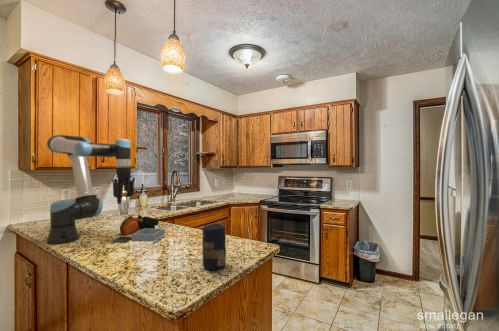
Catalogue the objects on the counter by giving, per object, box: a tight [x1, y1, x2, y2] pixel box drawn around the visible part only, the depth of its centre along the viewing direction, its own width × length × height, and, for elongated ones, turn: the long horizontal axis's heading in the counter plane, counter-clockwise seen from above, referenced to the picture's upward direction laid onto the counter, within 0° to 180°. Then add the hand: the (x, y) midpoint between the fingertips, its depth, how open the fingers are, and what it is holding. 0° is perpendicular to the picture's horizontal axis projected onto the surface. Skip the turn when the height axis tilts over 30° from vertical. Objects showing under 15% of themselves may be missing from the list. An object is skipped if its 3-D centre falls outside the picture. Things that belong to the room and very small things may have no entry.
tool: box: [119, 214, 159, 237], centre depth 157 cm, size 8×23×15 cm, turn 142°
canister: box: [202, 223, 227, 271], centre depth 103 cm, size 10×10×18 cm
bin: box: [130, 228, 166, 245], centre depth 142 cm, size 13×13×5 cm
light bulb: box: [119, 190, 129, 216], centre depth 139 cm, size 5×5×13 cm
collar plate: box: [107, 235, 131, 244], centre depth 138 cm, size 10×10×2 cm
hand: (124, 208), depth 138 cm, fingers closed on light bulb, 4 cm apart
